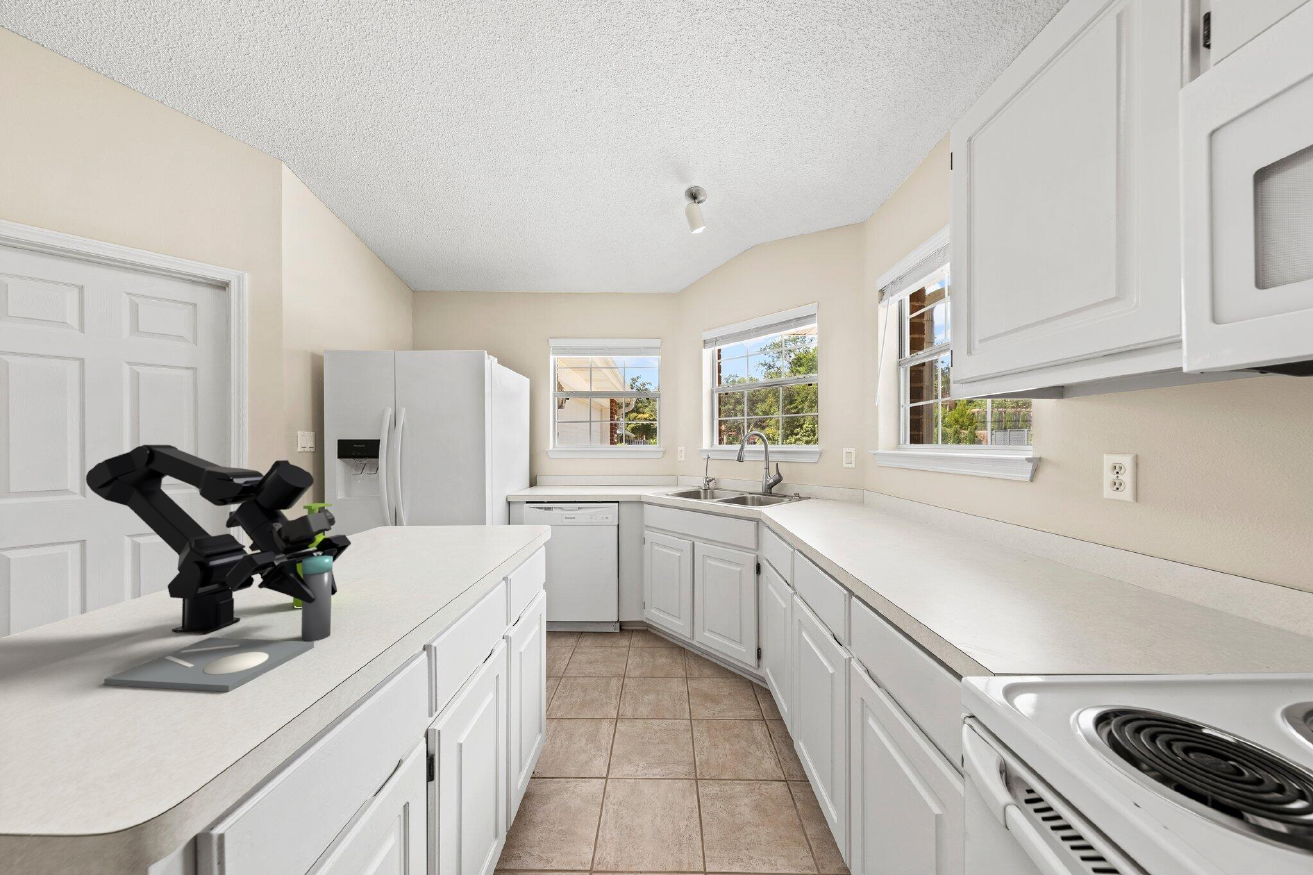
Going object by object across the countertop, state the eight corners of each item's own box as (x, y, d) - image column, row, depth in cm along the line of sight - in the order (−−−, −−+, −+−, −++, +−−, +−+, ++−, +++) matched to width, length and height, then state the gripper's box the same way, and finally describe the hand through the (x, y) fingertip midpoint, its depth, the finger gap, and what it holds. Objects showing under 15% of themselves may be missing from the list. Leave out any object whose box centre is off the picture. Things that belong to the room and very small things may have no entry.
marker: (293, 641, 79) (295, 561, 79) (314, 631, 83) (315, 555, 84) (317, 642, 79) (319, 561, 79) (337, 632, 83) (338, 555, 83)
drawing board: (103, 684, 64) (104, 677, 64) (209, 642, 78) (209, 636, 78) (228, 691, 63) (228, 684, 63) (313, 647, 77) (314, 641, 77)
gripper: (243, 502, 73) (304, 580, 71) (343, 491, 91) (394, 552, 89) (198, 552, 74) (258, 630, 72) (306, 531, 93) (356, 593, 91)
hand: (324, 597), depth 81 cm, fingers closed on marker, 4 cm apart
